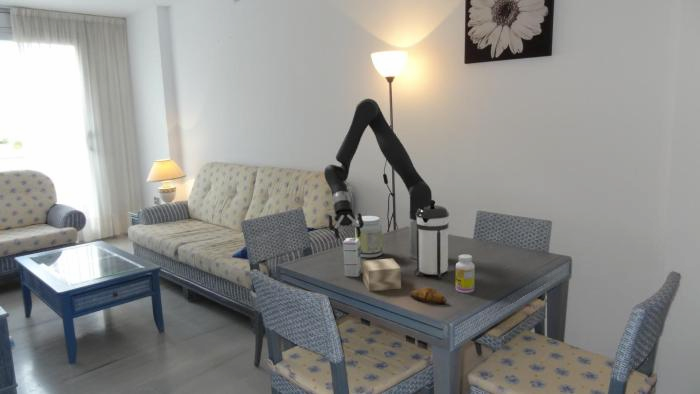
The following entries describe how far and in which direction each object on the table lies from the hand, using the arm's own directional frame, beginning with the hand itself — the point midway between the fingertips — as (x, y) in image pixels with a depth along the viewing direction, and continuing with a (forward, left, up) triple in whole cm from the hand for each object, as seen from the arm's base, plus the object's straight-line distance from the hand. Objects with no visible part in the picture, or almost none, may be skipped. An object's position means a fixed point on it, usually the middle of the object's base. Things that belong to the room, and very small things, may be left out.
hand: (348, 237), depth 206 cm
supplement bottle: (-35, +35, -14) cm, 51 cm away
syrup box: (0, +6, -14) cm, 15 cm away
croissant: (-19, +40, -14) cm, 46 cm away
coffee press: (-31, +14, -14) cm, 37 cm away
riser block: (-8, +20, -14) cm, 26 cm away
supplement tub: (-13, -18, -14) cm, 27 cm away
